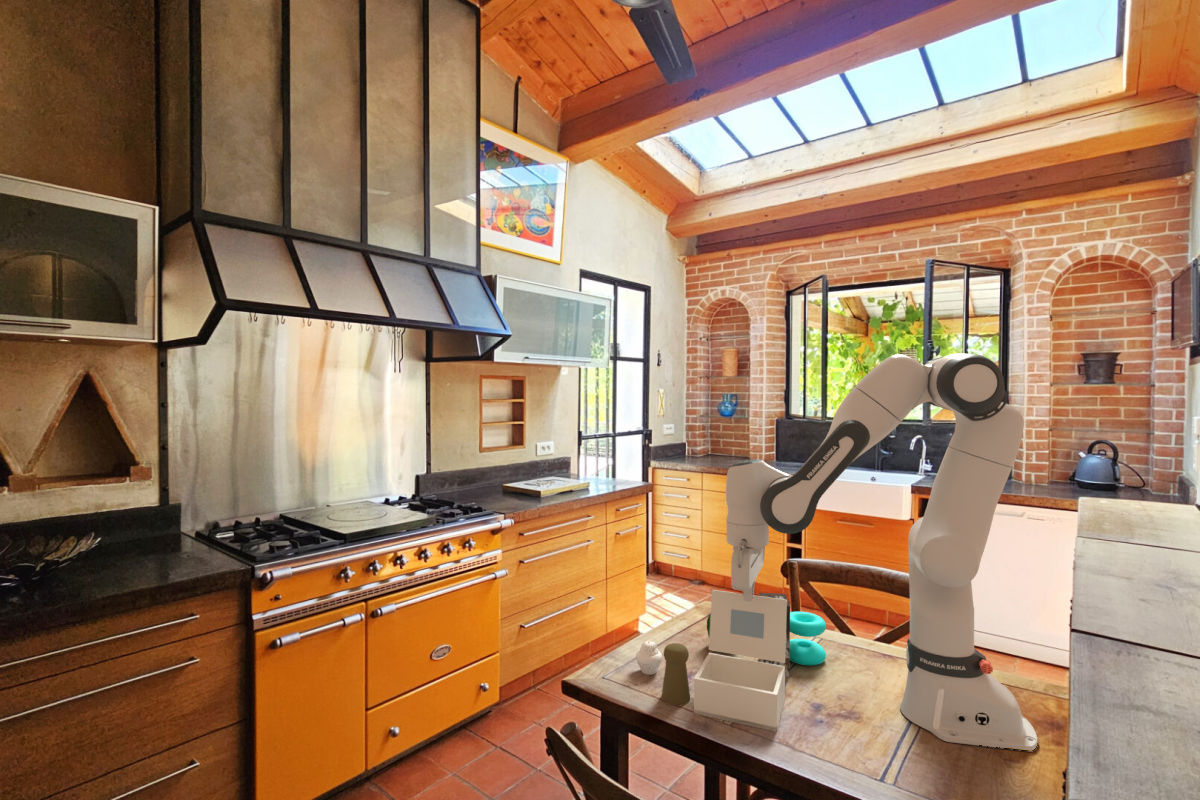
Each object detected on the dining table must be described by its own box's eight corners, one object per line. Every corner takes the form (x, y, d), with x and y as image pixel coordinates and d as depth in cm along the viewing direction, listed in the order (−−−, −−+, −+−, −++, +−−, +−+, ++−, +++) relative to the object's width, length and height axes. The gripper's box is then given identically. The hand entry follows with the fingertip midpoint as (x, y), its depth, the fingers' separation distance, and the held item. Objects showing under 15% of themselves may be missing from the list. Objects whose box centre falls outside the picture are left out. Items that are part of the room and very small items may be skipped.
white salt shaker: (630, 670, 137) (630, 640, 137) (650, 663, 140) (650, 633, 140) (647, 680, 132) (648, 649, 132) (668, 673, 135) (668, 642, 135)
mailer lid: (784, 663, 123) (785, 662, 124) (786, 600, 126) (787, 599, 126) (708, 649, 129) (709, 649, 130) (711, 589, 132) (712, 589, 133)
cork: (696, 697, 124) (696, 645, 124) (679, 708, 120) (679, 654, 120) (672, 687, 128) (672, 637, 128) (655, 698, 124) (655, 645, 124)
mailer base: (784, 699, 123) (784, 666, 123) (777, 731, 112) (777, 694, 112) (708, 684, 130) (708, 652, 130) (693, 713, 118) (693, 678, 118)
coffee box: (790, 677, 133) (790, 606, 133) (761, 675, 135) (761, 604, 134) (786, 660, 142) (786, 593, 142) (758, 657, 143) (758, 591, 143)
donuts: (823, 611, 147) (828, 626, 137) (822, 651, 147) (828, 669, 137) (781, 608, 149) (783, 622, 140) (781, 647, 149) (783, 665, 140)
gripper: (754, 547, 117) (756, 617, 116) (768, 526, 135) (770, 587, 135) (722, 544, 119) (724, 613, 119) (741, 524, 138) (742, 584, 138)
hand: (748, 599), depth 127 cm, fingers closed
